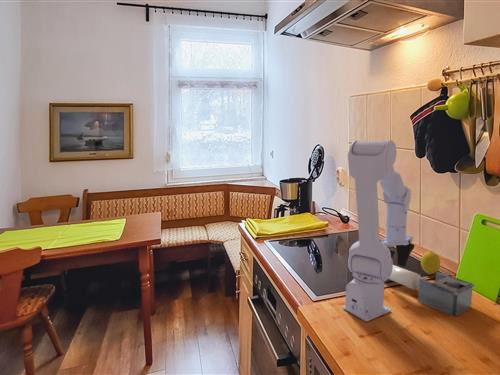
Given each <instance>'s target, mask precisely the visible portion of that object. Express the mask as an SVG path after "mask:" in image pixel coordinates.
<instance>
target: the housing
mask: <svg viewBox="0 0 500 375" xmlns="http://www.w3.org/2000/svg"><path fill="white" fill-rule="evenodd" d="M448 280H453V281H457V282H459V283H460V285H459V289H457V288H454V287H451V286H449V285H447V281H448ZM475 285H476V284H475V283H473V282H469V281H467V280H463V279H460V278H457V277H455V276H451V275H449V274H446V273H442V272H439V271H437V272H436V273H435V281H433V282H432V281H429V280H426V279H424V278H421V279H419V287H418V293H417V294H418V295H417V302H418V303H421V304H423V305H425V306H428V307H430V308H432V309H434V310H437V311H438V312H441V313H444V314H446V315H447V316H450V317H453V316H454V317H457V316H459V315H461V314H463V313H465V312H467V311H469V310H470V309H471V308H472V296H473V288H474V287H475Z"/></svg>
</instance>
